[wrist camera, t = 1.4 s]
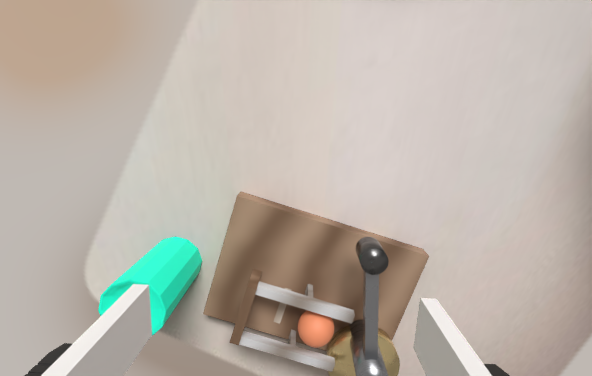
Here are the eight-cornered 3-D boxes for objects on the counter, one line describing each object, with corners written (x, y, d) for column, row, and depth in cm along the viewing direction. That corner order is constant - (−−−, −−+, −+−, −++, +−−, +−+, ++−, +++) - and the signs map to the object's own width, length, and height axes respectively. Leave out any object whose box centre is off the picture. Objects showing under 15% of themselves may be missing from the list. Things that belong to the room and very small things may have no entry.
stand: (422, 249, 38) (444, 273, 32) (376, 354, 41) (388, 394, 35) (240, 191, 37) (228, 205, 31) (208, 304, 40) (191, 336, 35)
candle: (142, 250, 39) (72, 309, 27) (183, 227, 38) (130, 277, 27) (170, 291, 40) (115, 363, 28) (211, 269, 39) (171, 334, 28)
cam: (444, 248, 36) (481, 283, 28) (380, 389, 40) (397, 454, 32) (354, 219, 35) (367, 247, 28) (298, 365, 39) (297, 425, 32)
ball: (337, 306, 38) (341, 328, 34) (326, 335, 38) (328, 360, 35) (304, 296, 37) (304, 317, 34) (293, 325, 38) (292, 349, 34)
